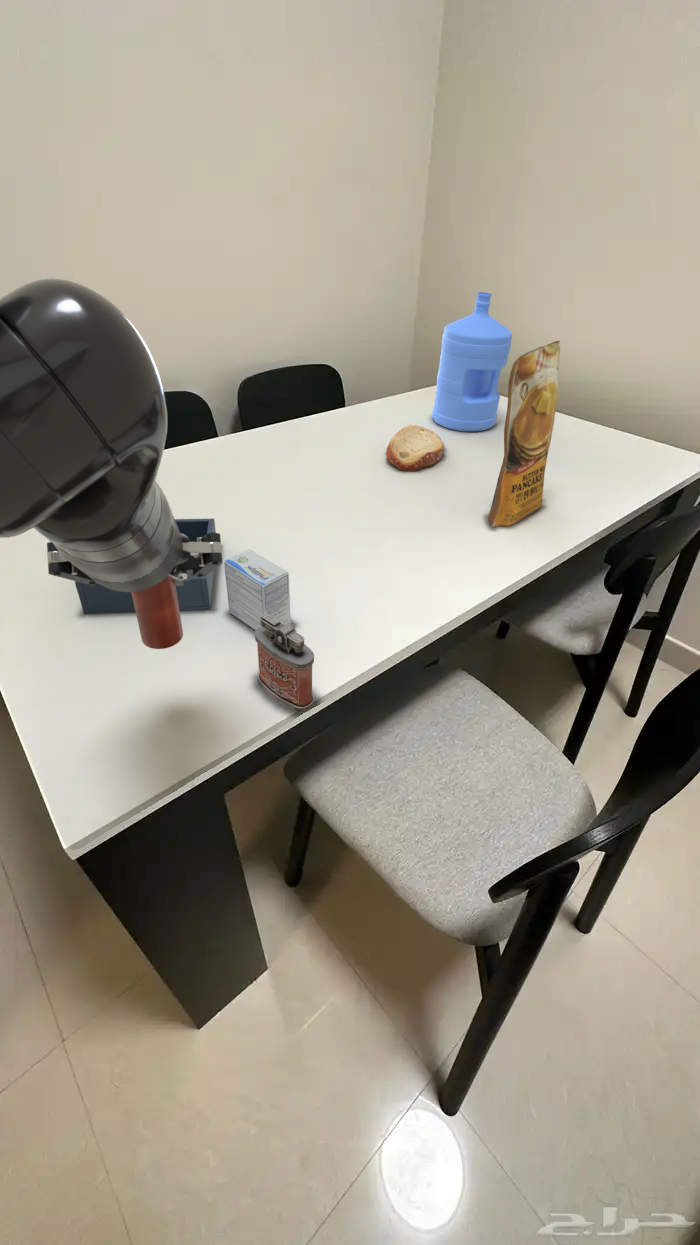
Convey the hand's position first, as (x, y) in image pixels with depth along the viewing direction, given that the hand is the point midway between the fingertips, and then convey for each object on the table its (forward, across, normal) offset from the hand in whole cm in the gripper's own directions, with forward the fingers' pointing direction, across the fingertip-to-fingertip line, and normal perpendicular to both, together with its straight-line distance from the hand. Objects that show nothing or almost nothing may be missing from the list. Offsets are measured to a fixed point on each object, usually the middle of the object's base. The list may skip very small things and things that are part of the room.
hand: (154, 576), depth 56 cm
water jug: (+72, -67, -49) cm, 110 cm away
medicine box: (+21, -10, +2) cm, 24 cm away
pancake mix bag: (+39, -59, -16) cm, 72 cm away
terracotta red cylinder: (+3, 0, +6) cm, 6 cm away
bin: (+30, +4, -6) cm, 31 cm away
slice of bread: (+60, -48, -37) cm, 85 cm away
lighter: (+11, -12, +13) cm, 21 cm away
